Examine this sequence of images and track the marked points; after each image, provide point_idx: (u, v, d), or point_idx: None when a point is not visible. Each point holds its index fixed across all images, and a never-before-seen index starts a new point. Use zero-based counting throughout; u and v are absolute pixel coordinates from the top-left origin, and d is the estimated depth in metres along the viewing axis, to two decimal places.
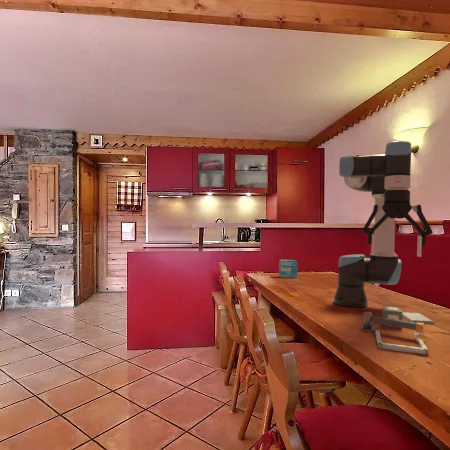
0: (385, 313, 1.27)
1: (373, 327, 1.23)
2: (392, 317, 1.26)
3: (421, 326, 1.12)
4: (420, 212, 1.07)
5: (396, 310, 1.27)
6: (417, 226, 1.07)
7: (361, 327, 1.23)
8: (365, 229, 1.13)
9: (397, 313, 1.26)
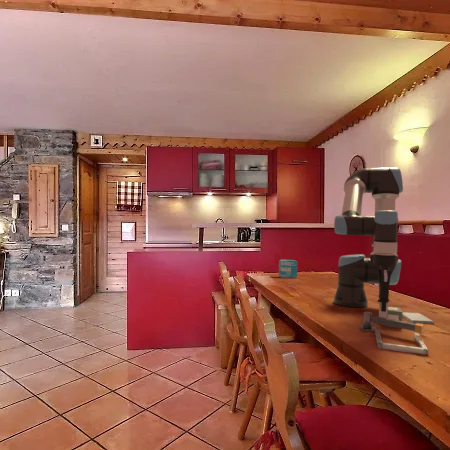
0: None
1: (373, 327, 1.23)
2: (392, 317, 1.26)
3: (420, 327, 1.11)
4: (381, 282, 1.17)
5: (396, 310, 1.27)
6: (380, 292, 1.21)
7: (361, 327, 1.23)
8: (379, 294, 1.25)
9: (397, 313, 1.26)
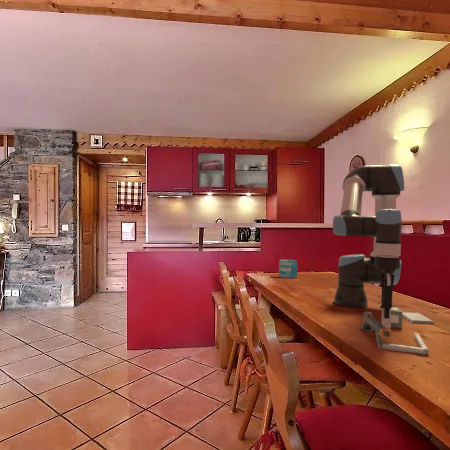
0: None
1: None
2: (392, 317, 1.26)
3: (381, 331, 1.06)
4: (384, 286, 1.09)
5: (396, 310, 1.27)
6: (383, 297, 1.12)
7: (361, 327, 1.23)
8: (381, 300, 1.16)
9: (397, 313, 1.26)
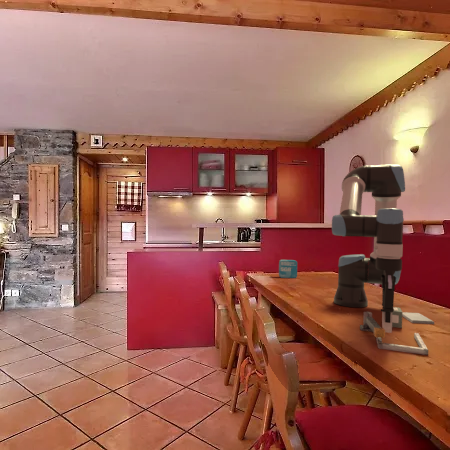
0: None
1: None
2: (392, 317, 1.26)
3: (374, 330, 1.07)
4: (385, 289, 1.04)
5: (396, 310, 1.27)
6: (383, 300, 1.07)
7: (361, 327, 1.23)
8: (382, 303, 1.11)
9: (397, 313, 1.26)
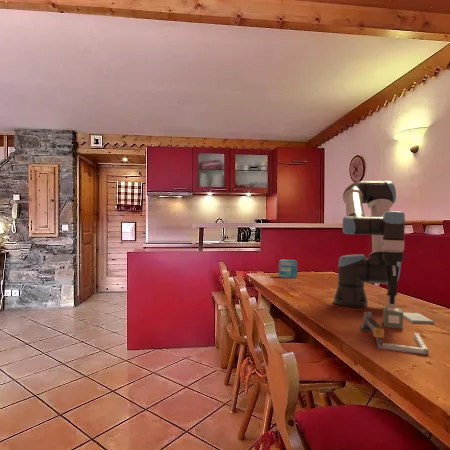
0: (385, 314, 1.26)
1: None
2: (393, 318, 1.25)
3: (374, 330, 1.07)
4: (390, 276, 1.28)
5: (397, 311, 1.26)
6: (389, 286, 1.31)
7: (361, 327, 1.23)
8: None
9: (398, 314, 1.25)
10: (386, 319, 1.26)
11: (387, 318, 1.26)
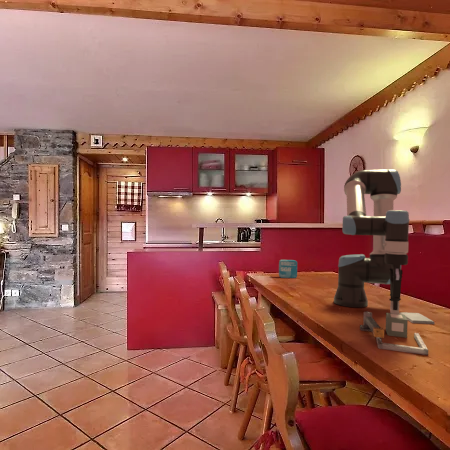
0: (388, 321, 1.17)
1: None
2: (396, 325, 1.16)
3: (374, 330, 1.07)
4: None
5: (401, 318, 1.16)
6: (392, 290, 1.22)
7: (361, 327, 1.23)
8: (390, 293, 1.26)
9: (402, 321, 1.15)
10: (389, 327, 1.17)
11: (390, 326, 1.16)
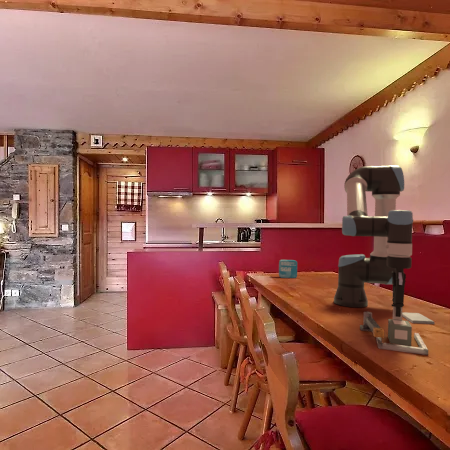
0: (391, 328, 1.09)
1: None
2: (400, 333, 1.08)
3: (374, 330, 1.07)
4: (396, 285, 1.11)
5: (404, 324, 1.09)
6: (394, 296, 1.14)
7: (361, 327, 1.23)
8: None
9: (405, 328, 1.08)
10: (392, 334, 1.09)
11: (393, 333, 1.09)
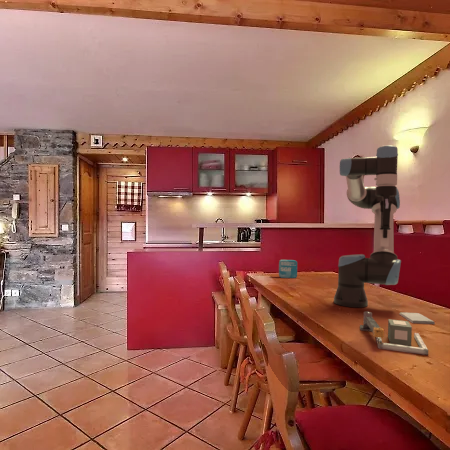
0: (391, 328, 1.09)
1: None
2: (400, 333, 1.08)
3: (374, 330, 1.07)
4: (383, 209, 1.30)
5: (404, 325, 1.09)
6: (382, 220, 1.33)
7: (361, 327, 1.23)
8: None
9: (406, 328, 1.08)
10: (392, 334, 1.09)
11: (393, 333, 1.09)
